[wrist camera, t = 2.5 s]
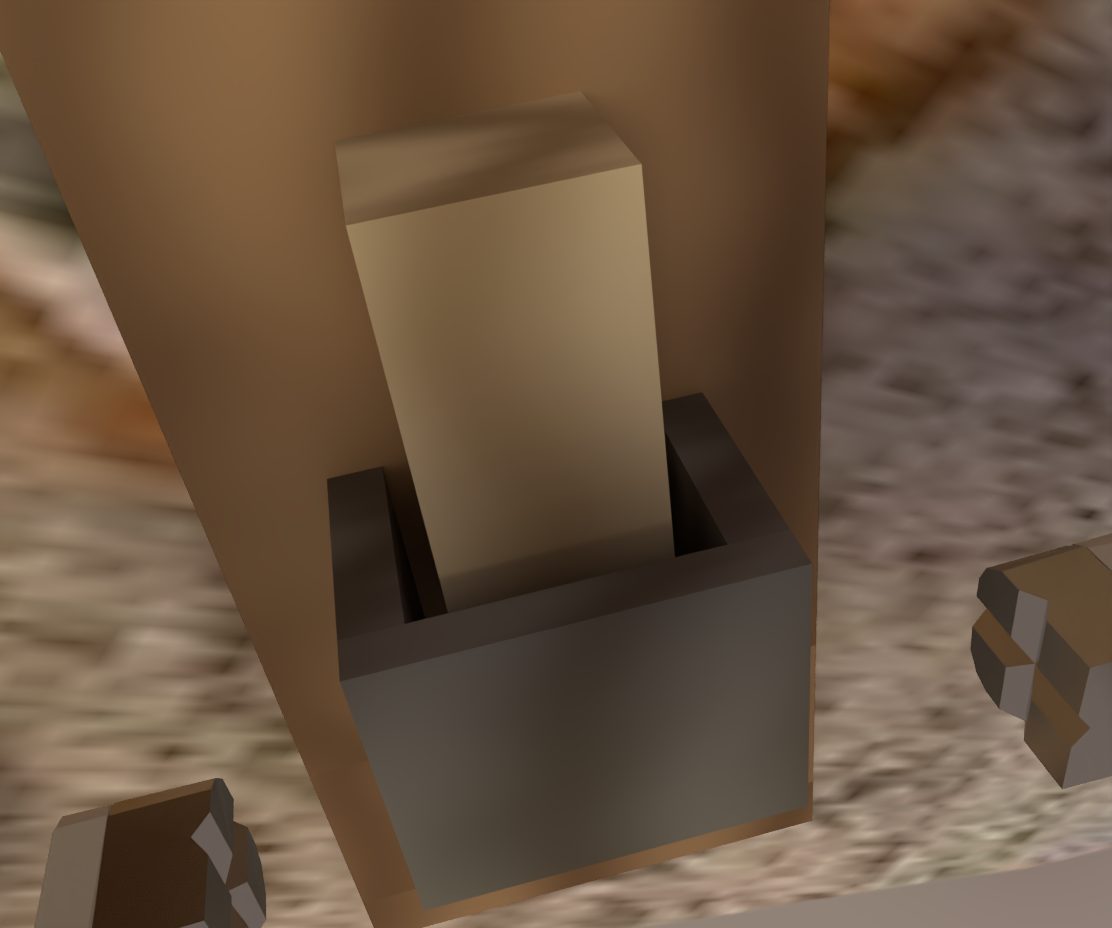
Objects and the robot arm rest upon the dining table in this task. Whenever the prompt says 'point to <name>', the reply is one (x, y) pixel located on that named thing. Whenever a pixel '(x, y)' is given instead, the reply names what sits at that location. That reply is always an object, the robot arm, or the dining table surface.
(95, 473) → the dining table surface
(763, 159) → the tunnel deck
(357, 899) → the dining table surface
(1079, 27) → the dining table surface
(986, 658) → the robot arm
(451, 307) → the birch bar
